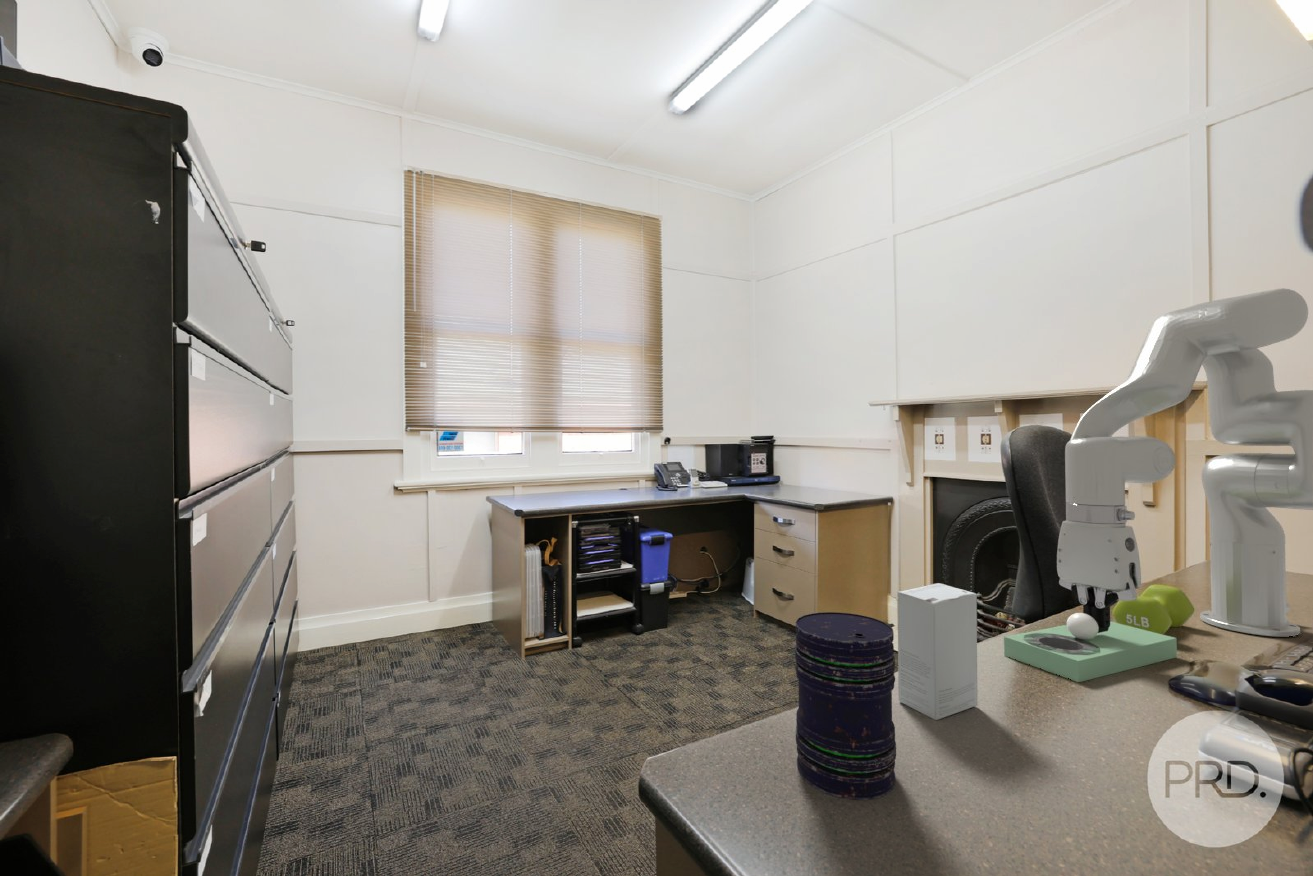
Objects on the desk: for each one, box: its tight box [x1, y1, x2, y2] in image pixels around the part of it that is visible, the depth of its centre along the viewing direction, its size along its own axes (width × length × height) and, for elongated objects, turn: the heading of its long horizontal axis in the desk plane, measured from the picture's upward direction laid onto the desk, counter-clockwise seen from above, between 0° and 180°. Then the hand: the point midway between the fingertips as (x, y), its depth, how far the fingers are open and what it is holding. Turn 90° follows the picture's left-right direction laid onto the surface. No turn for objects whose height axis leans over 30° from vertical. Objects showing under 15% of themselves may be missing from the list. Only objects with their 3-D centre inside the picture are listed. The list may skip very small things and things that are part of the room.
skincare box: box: [897, 582, 979, 721], centre depth 73 cm, size 8×6×15 cm
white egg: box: [1066, 612, 1098, 640], centre depth 89 cm, size 4×4×4 cm
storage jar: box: [794, 611, 897, 801], centre depth 59 cm, size 10×10×15 cm
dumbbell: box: [1111, 583, 1195, 635], centre depth 101 cm, size 16×8×7 cm, turn 123°
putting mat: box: [1003, 620, 1178, 683], centre depth 89 cm, size 24×11×3 cm, turn 112°
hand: (1096, 630), depth 90 cm, fingers closed
